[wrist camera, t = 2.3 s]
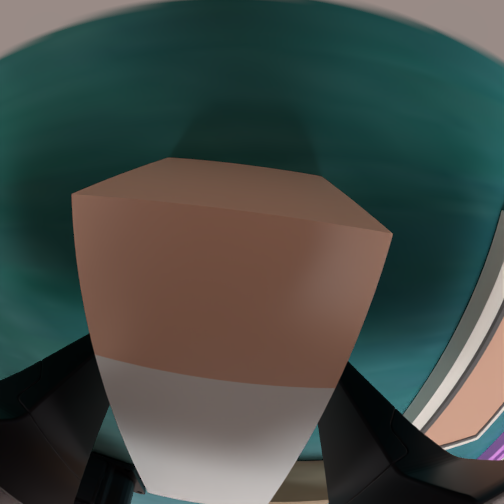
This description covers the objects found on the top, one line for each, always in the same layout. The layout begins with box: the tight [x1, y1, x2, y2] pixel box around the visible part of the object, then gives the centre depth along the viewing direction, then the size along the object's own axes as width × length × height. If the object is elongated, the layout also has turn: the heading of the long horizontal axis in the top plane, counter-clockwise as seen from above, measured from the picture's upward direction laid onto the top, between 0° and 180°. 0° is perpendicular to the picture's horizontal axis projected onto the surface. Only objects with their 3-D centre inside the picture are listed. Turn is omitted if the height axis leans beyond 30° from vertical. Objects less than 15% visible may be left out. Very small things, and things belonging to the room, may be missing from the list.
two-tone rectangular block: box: [72, 157, 393, 504], centre depth 8 cm, size 11×4×5 cm, turn 173°
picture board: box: [403, 210, 504, 450], centre depth 11 cm, size 16×10×1 cm, turn 173°
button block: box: [268, 460, 329, 504], centre depth 15 cm, size 7×7×3 cm
